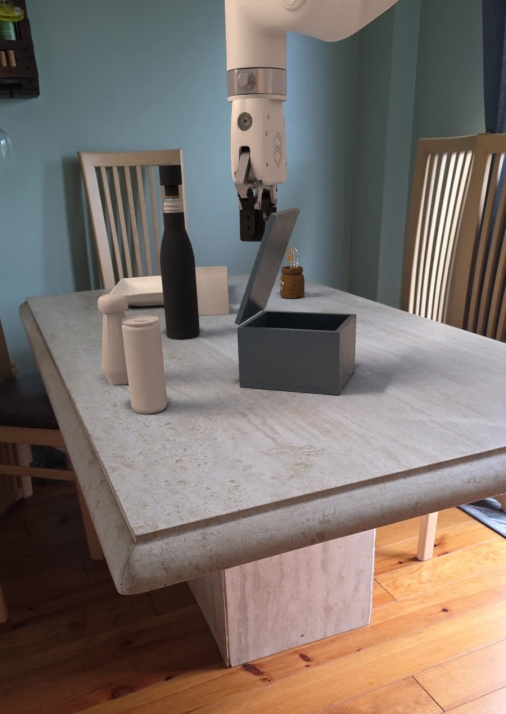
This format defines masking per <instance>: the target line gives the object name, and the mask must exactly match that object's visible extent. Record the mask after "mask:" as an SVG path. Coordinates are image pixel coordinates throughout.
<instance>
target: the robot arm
mask: <svg viewBox="0 0 506 714" xmlns="http://www.w3.org/2000/svg"><path fill="white" fill-rule="evenodd" d="M397 2H399V0H224V20H225V21H224V22H225V53H226V54H225V55H226V89H227V91H226V92H227V103H229V104H231V116H230V117H231V120H230V169H231V177H232V181H233V184H234V187H235V190H236V192H237V193H236V194H237V198H238V203H237V205H238V211H239V212H238V213H239V240H240V241H241V242H248V243H249V242H250V243H261V241H262V238H263V235H264V232H265V229H266V227H264V226H263V210H262V209H265V210H267V211H268V212H269V214H271V213H274V212H278V209H277V208H278V207H277V205H278V196H277V194H278V185H282V184H284V183H285V182H286V180H287V177H288V165H287V163H288V161H287V160H288V159H287V137H286V135H287V134H286V121H285V112H284V111H285V110H284V105H283V103H285V102H286V101H287V72H288V71H287V70H288V69H287V67H288V66H287V63H288V62H287V61H288V60H287V58H288V57H287V55H288V54H287V51H288V50H287V44H288V42H287V41H288V38H287V37H288V32H292V33H296V34H300V35H304V36H307V37H311V38H314V39H317V40H319V41H322V42H325V43H326V42H327V43H334V42H339V41H342V40H345V39H347V38H349V37H351V36H353V35H354V34H355V33H358V32H359V31H360V30H362V29H363V28H365V27H366V26H368V24H370V23H371V22H373V21H374V20H376V19H377V18H378V17H379V16H381V15H382V14H384V13H385V12H386V11H387V10H389V9H390V8H391V7H393V5H395V4H396V3H397Z"/></svg>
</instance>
